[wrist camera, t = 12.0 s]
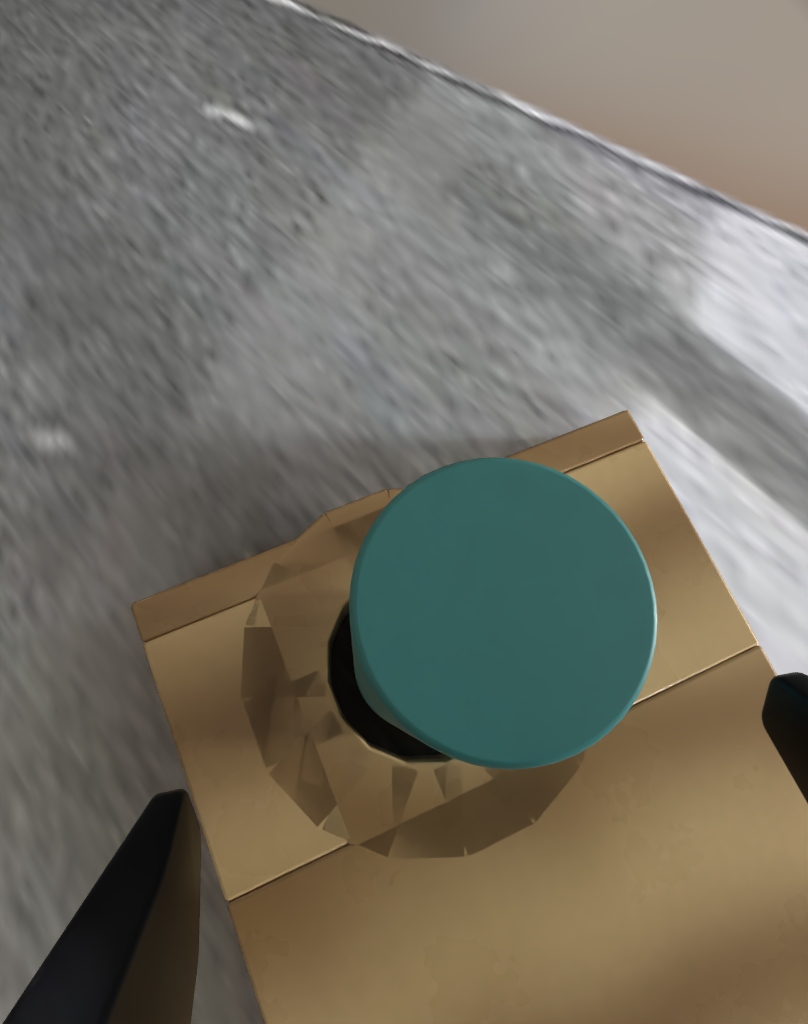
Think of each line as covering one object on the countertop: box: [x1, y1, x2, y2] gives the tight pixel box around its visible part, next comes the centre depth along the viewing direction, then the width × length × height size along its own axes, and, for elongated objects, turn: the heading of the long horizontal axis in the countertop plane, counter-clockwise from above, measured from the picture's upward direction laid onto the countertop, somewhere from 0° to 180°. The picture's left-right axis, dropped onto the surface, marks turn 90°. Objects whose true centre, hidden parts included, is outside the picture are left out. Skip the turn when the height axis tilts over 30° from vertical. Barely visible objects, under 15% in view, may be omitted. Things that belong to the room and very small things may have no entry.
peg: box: [349, 458, 657, 770], centre depth 12 cm, size 3×3×11 cm
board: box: [131, 410, 808, 1024], centre depth 15 cm, size 20×14×2 cm
